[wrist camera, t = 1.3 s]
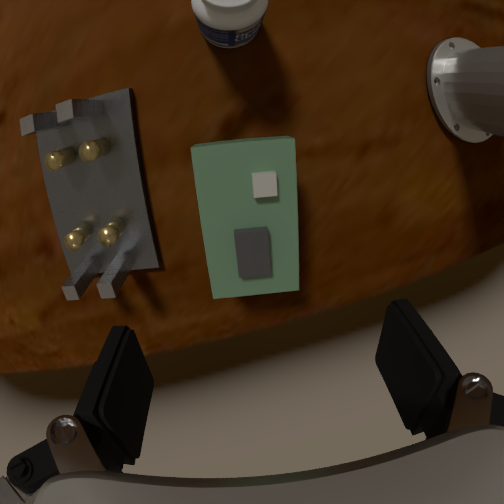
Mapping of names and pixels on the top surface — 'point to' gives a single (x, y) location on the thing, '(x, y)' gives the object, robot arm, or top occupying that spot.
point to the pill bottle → (229, 20)
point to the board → (249, 214)
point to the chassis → (96, 189)
